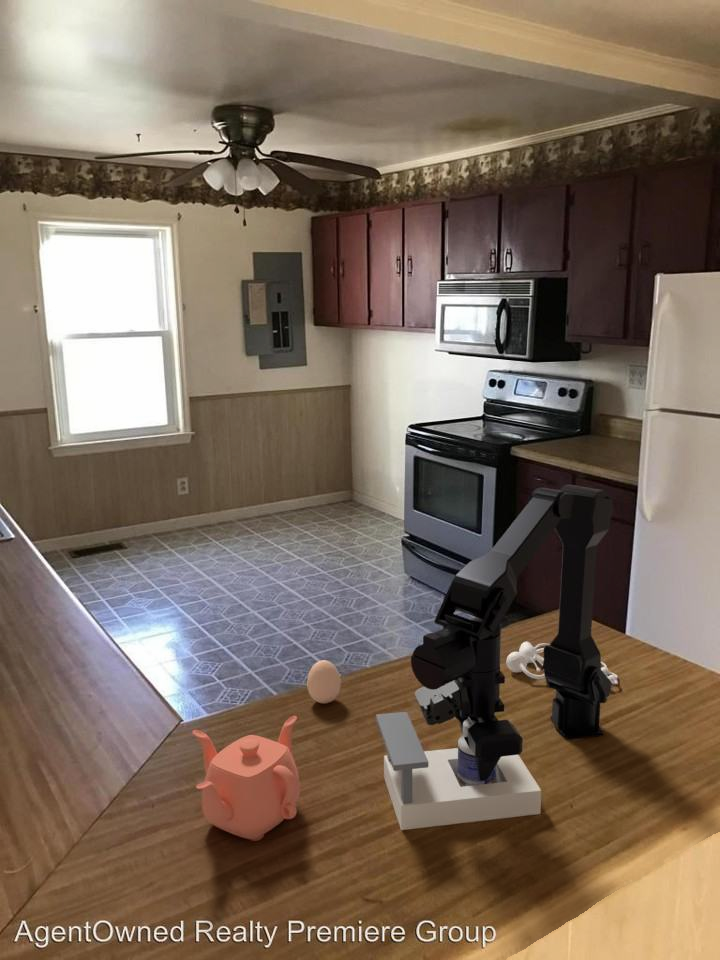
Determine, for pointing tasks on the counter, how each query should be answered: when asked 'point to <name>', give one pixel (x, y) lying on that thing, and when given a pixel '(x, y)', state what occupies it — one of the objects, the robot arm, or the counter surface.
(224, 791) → the teapot
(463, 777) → the pill bottle
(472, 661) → the robot arm
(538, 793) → the socket block
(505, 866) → the counter surface
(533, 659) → the tangled rod sculpture
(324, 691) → the egg
